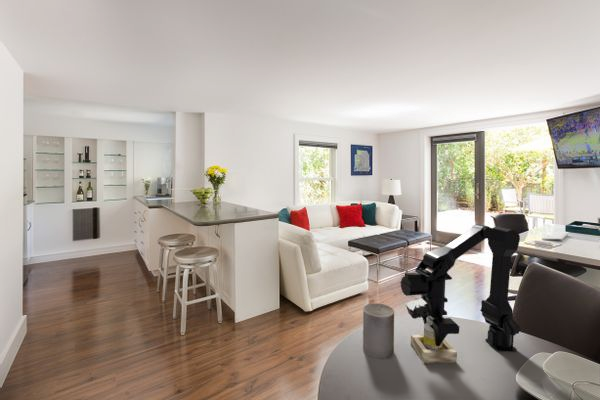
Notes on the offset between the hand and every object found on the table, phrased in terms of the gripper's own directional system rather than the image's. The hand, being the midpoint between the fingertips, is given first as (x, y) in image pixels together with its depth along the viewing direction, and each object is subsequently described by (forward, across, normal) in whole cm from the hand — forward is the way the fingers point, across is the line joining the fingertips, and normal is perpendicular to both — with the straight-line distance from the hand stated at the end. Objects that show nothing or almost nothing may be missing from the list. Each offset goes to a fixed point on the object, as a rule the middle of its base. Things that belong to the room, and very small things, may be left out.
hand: (433, 340), depth 93 cm
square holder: (+4, 0, 0) cm, 4 cm away
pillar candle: (+4, -2, -17) cm, 18 cm away
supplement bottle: (+3, 0, 0) cm, 3 cm away
